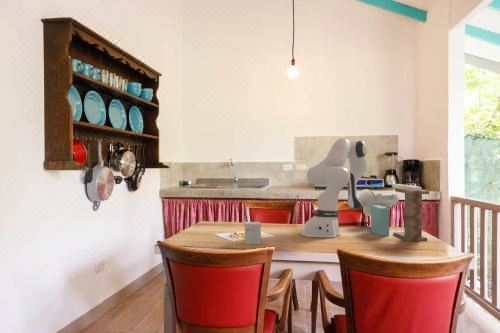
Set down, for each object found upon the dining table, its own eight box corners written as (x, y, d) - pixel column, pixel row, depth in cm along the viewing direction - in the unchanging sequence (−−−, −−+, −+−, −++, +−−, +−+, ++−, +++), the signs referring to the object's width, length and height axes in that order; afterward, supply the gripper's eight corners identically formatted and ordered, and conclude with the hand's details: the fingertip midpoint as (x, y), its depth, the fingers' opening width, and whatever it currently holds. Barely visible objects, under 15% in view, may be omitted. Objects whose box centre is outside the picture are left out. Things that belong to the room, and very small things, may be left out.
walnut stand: (409, 242, 169) (410, 191, 168) (393, 235, 185) (393, 188, 184) (429, 241, 170) (430, 191, 170) (411, 234, 186) (412, 188, 185)
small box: (260, 241, 170) (261, 221, 170) (260, 244, 164) (260, 223, 164) (245, 241, 170) (245, 221, 170) (244, 244, 165) (244, 223, 165)
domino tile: (414, 190, 171) (414, 187, 171) (392, 187, 193) (392, 183, 193) (421, 190, 171) (421, 186, 171) (398, 187, 193) (398, 183, 193)
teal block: (380, 235, 183) (380, 208, 183) (370, 231, 195) (371, 205, 195) (389, 235, 184) (389, 208, 183) (378, 231, 196) (379, 205, 195)
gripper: (361, 198, 215) (370, 190, 203) (391, 198, 217) (401, 189, 205) (363, 207, 212) (372, 199, 200) (393, 207, 214) (404, 198, 202)
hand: (387, 194), depth 202 cm, fingers open, 8 cm apart
